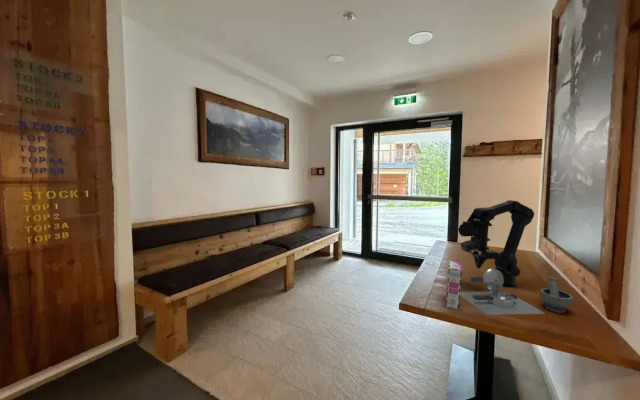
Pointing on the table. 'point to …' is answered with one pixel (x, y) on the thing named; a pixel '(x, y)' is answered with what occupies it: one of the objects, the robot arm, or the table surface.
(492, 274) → the lid
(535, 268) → the table surface
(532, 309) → the slate board
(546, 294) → the mortar and pestle
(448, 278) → the candy bar box
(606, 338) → the table surface
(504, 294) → the cooker pot
